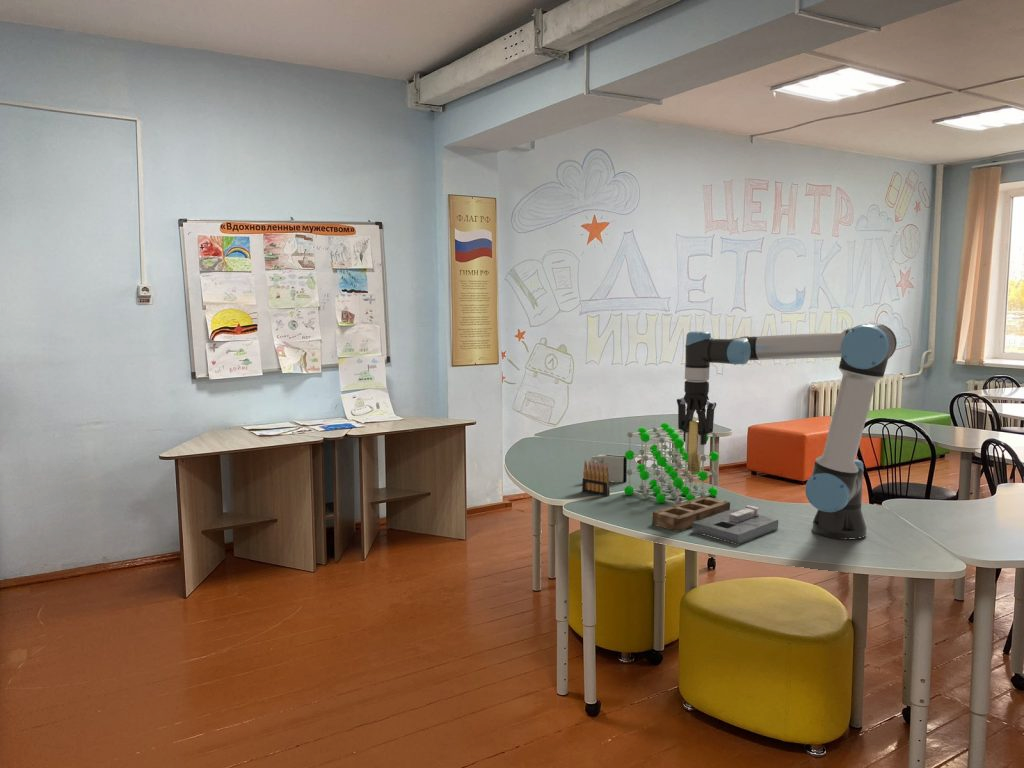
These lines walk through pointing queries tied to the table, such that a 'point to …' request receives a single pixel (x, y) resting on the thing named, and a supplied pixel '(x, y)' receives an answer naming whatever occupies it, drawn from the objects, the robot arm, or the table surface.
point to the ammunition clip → (595, 479)
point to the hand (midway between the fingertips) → (694, 453)
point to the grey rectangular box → (613, 466)
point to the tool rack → (689, 512)
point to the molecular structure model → (668, 466)
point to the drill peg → (693, 447)
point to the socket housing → (735, 527)
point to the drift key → (744, 514)
